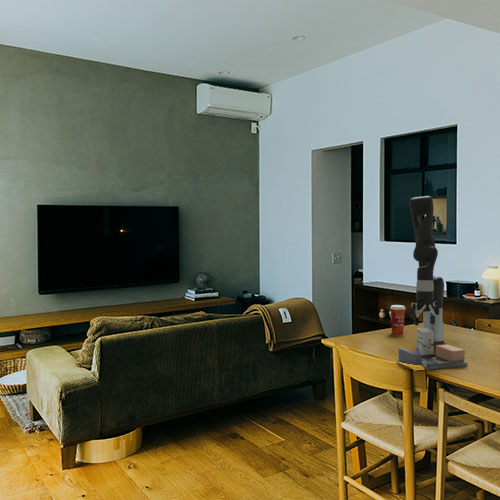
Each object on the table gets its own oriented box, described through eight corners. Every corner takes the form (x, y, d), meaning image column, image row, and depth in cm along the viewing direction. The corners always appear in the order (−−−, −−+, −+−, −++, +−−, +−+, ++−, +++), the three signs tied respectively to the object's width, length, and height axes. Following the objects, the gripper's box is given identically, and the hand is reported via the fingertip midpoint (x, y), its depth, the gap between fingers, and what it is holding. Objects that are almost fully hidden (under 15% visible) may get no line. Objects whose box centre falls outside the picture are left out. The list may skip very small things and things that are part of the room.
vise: (445, 357, 233) (445, 343, 233) (467, 365, 220) (468, 350, 219) (396, 362, 225) (396, 348, 225) (416, 371, 212) (416, 355, 211)
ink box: (415, 352, 242) (416, 327, 241) (426, 352, 242) (426, 327, 242) (423, 357, 233) (423, 331, 233) (434, 357, 234) (434, 331, 233)
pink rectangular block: (447, 354, 231) (447, 344, 231) (464, 361, 221) (464, 350, 221) (435, 356, 229) (436, 345, 229) (452, 362, 219) (452, 351, 219)
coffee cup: (397, 335, 280) (397, 307, 279) (386, 332, 287) (386, 305, 286) (408, 333, 284) (409, 306, 283) (398, 330, 291) (398, 304, 290)
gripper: (432, 288, 242) (432, 322, 243) (406, 289, 238) (406, 324, 239) (443, 290, 235) (442, 325, 236) (416, 291, 231) (416, 327, 231)
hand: (424, 324), depth 237 cm, fingers open, 8 cm apart
